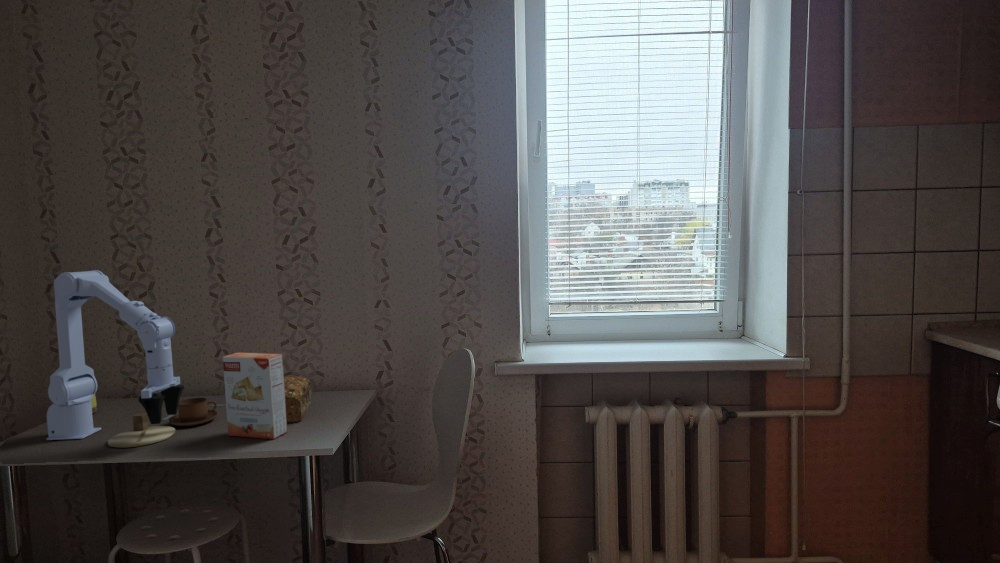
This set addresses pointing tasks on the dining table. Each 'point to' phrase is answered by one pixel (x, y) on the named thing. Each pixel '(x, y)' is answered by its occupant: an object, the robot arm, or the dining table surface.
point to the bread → (296, 397)
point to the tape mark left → (167, 417)
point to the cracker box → (255, 395)
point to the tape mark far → (219, 405)
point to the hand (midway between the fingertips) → (164, 418)
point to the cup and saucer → (193, 412)
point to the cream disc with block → (141, 433)
